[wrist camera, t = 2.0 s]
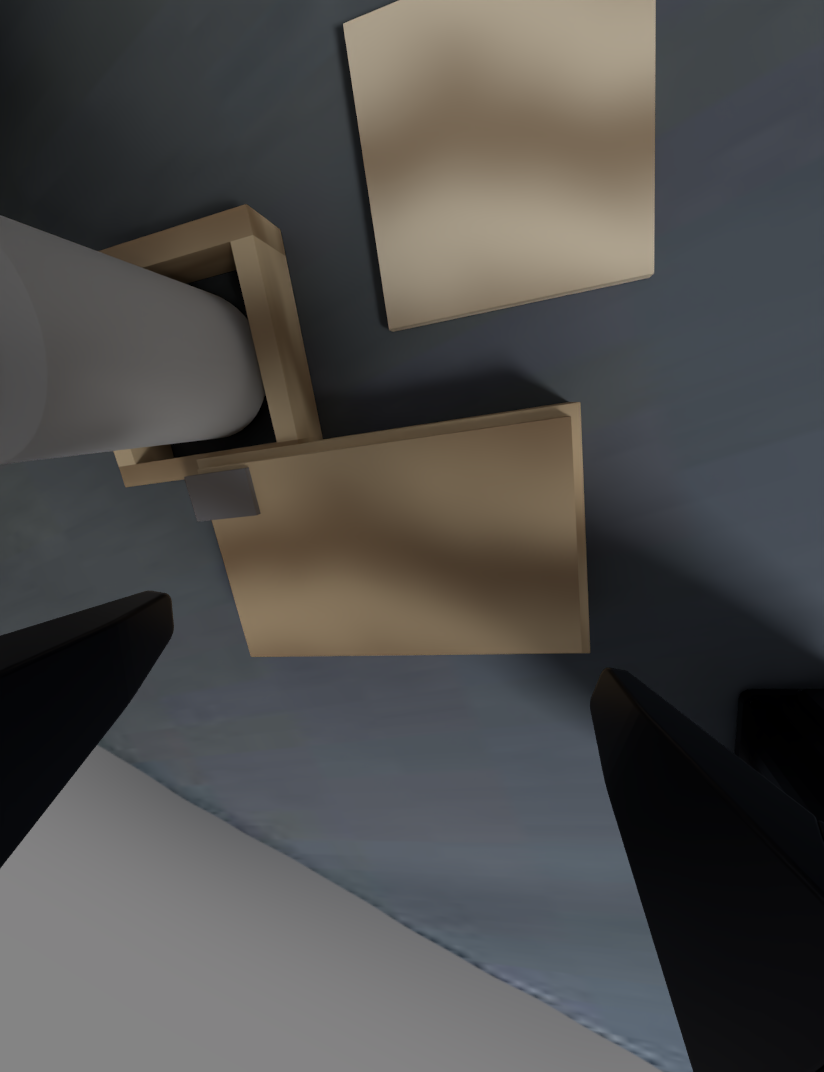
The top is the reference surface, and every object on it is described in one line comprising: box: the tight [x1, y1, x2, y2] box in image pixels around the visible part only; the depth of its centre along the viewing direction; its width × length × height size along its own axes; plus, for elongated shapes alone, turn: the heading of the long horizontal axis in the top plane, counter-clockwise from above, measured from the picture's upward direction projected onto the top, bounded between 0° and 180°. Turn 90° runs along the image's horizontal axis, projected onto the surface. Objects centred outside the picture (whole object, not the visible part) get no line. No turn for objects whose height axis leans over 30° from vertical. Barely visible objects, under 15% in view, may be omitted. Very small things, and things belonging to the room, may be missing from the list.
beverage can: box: [0, 215, 265, 464], centre depth 15 cm, size 6×6×12 cm
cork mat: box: [343, 0, 656, 332], centre depth 15 cm, size 10×10×1 cm
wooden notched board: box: [98, 204, 590, 657], centre depth 18 cm, size 19×21×4 cm
